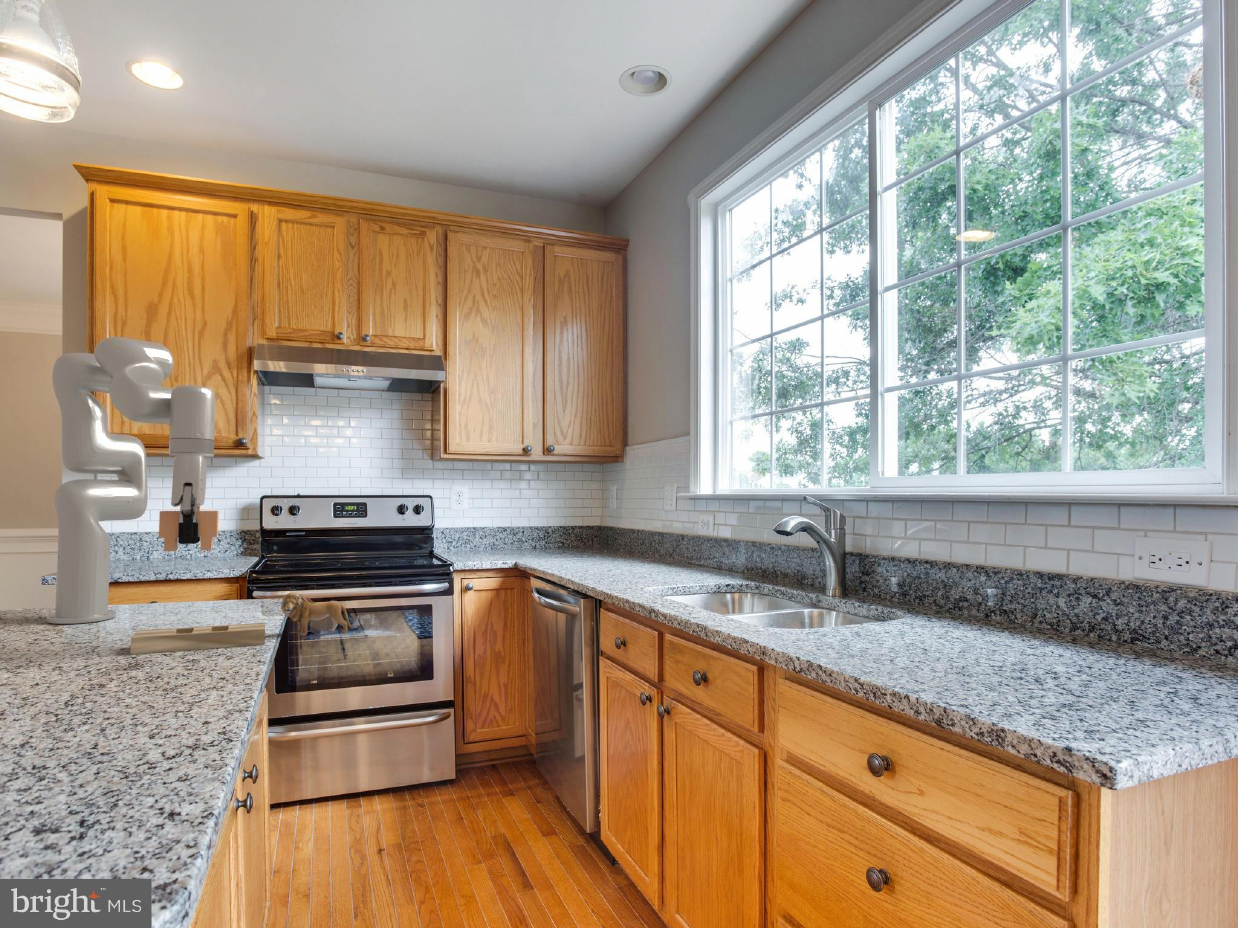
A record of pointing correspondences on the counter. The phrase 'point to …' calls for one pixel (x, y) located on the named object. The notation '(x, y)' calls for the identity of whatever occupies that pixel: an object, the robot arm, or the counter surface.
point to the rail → (197, 638)
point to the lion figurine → (313, 612)
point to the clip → (171, 527)
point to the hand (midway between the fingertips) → (189, 541)
